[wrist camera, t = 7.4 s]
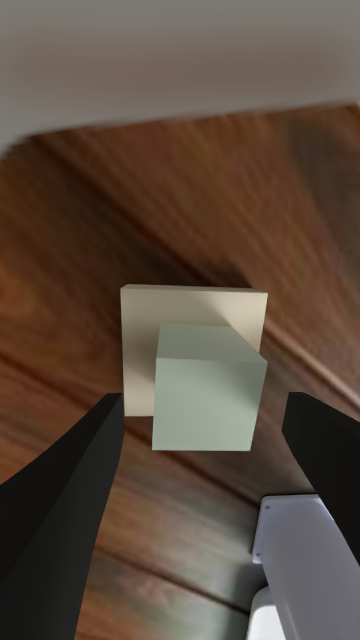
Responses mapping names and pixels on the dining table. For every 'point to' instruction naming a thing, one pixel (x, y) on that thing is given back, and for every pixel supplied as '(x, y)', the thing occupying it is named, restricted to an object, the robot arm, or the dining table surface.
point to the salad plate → (264, 618)
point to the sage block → (205, 389)
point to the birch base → (182, 308)
